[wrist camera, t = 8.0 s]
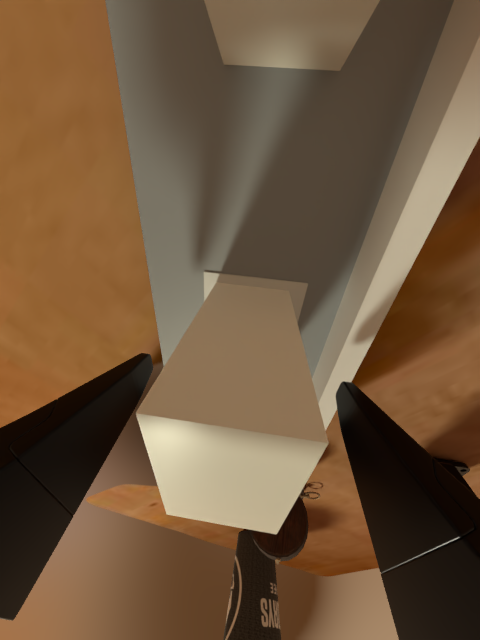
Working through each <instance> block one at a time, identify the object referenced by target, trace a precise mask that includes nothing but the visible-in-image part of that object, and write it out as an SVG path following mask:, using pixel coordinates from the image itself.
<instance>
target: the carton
mask: <svg viewBox="0 0 480 640" xmlns="http://www.w3.org/2000/svg"><path fill="white" fill-rule="evenodd" d="M136 416H137V419H138V423H139V426H140V429H141V432H142V435H143V439H144V442H145V445H146V449H147V452H148V455H149V458H150V461H151V465H152V468H153V471H154V474H155V478H156V481H157V484H158V488H159V491H160V494H161V497H162V501H163V504H164V507H165V510H166V514H167V515H173V516H178V517H184V518H189V519H195V520H200V521H205V522H211V523H216V524H222V525H227V526H233V527H238V528H244V529H249V530H255V531H260V532H266V533H271V534H277V533H278V531H279V530H280V528H281V526H282V524H283V523H284V521H285V519H286V517H287V515H288V514H289V512H290V510H291V508H292V507H293V505H294V503H295V501H296V500H297V498H298V496H299V494H300V493H301V491H302V489H303V487H304V486H305V484H306V482H307V480H308V479H309V477H310V475H311V473H312V472H313V470H314V468H315V466H316V465H317V463H318V461H319V459H320V458H321V456H322V454H323V452H324V451H325V449H326V447H327V445H328V444H329V443H328V439H327V435H326V431H325V427H324V423H323V419H322V416H321V412H320V408H319V404H318V400H317V396H316V393H315V389H314V385H313V381H312V377H311V373H310V369H309V366H308V362H307V358H306V354H305V350H304V346H303V343H302V339H301V335H300V331H299V327H298V323H297V319H296V316H295V312H294V308H293V304H292V300H291V296H290V293H289V291H287V290H278V289H270V288H261V287H253V286H244V285H235V284H227V283H218V282H216V284H215V285H214V287H213V288H212V290H211V292H210V293H209V295H208V297H207V298H206V300H205V301H204V303H203V305H202V306H201V308H200V310H199V311H198V313H197V314H196V316H195V318H194V319H193V321H192V323H191V324H190V326H189V327H188V329H187V331H186V332H185V334H184V335H183V337H182V339H181V340H180V342H179V344H178V345H177V347H176V348H175V350H174V352H173V353H172V355H171V357H170V358H169V360H168V361H167V363H166V365H165V366H164V368H163V370H162V371H161V373H160V375H159V376H158V378H157V379H156V381H155V383H154V384H153V386H152V387H151V389H150V391H149V392H148V394H147V396H146V397H145V399H144V401H143V402H142V404H141V405H140V407H139V409H138V410H137V412H136Z"/></svg>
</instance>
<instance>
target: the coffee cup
mask: <svg viewBox="0 0 480 640" xmlns="http://www.w3.org/2000/svg"><path fill="white" fill-rule="evenodd" d="M275 571H276V570H275V560H273V559H270V558H268V557H267V556H266V555H265V554H263V553H262V552H261V551H260V549H259V548H258V547H257V545H256V544H255V542H254V540H253V537H252V534H251V532H250V531H242V532H240V533H239V535H238V542H237V549H236V556H235V563H234V570H233V577H232V585H231V592H230V599H229V605H228V613H227V619H226V626H225V633H224V640H281V634H280V621H279V608H278V596H277V583H276V572H275Z"/></svg>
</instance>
